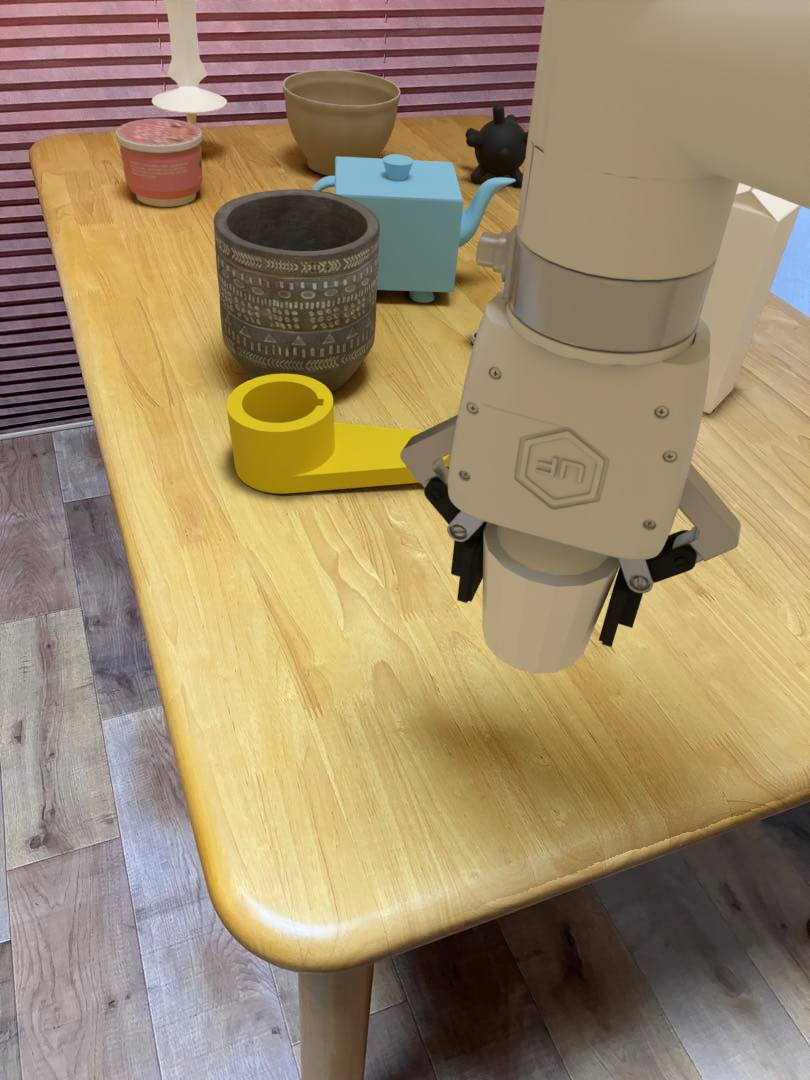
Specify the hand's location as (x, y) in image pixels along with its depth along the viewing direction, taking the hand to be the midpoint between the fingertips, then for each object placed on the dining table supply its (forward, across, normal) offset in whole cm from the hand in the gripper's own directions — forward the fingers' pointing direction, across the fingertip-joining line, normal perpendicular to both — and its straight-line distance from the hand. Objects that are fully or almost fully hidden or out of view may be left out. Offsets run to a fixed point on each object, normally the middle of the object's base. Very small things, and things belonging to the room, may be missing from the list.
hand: (540, 603), depth 46 cm
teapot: (+12, -29, +56) cm, 64 cm away
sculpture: (+10, -71, +79) cm, 107 cm away
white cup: (+3, 0, 0) cm, 3 cm away
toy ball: (+12, -30, +94) cm, 99 cm away
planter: (+12, -31, +33) cm, 47 cm away
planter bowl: (+11, -51, +86) cm, 101 cm away
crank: (+12, -21, +21) cm, 32 cm away
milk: (+13, +5, +48) cm, 50 cm away
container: (+11, -66, +64) cm, 93 cm away
